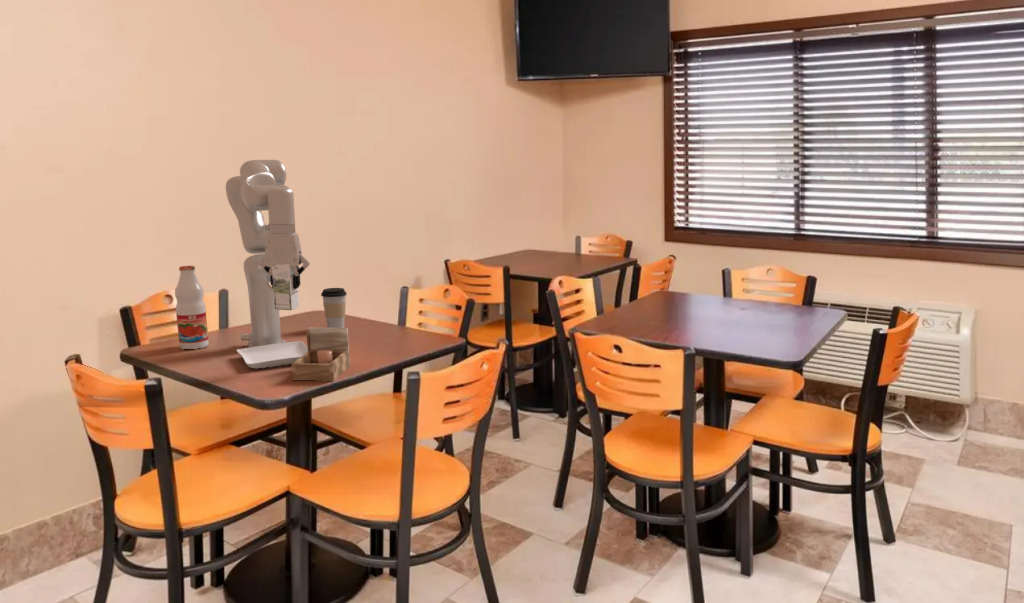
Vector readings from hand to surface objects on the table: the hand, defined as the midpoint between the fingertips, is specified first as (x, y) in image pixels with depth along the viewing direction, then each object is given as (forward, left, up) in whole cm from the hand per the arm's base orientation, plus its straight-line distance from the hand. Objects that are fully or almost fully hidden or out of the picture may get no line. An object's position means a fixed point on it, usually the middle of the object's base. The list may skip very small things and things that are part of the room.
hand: (285, 287), depth 237 cm
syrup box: (0, 0, -7) cm, 7 cm away
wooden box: (+13, -9, -25) cm, 29 cm away
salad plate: (-7, +6, -25) cm, 27 cm away
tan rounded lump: (+13, -5, -25) cm, 28 cm away
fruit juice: (-42, +23, -25) cm, 54 cm away
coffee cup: (-1, +52, -25) cm, 58 cm away
